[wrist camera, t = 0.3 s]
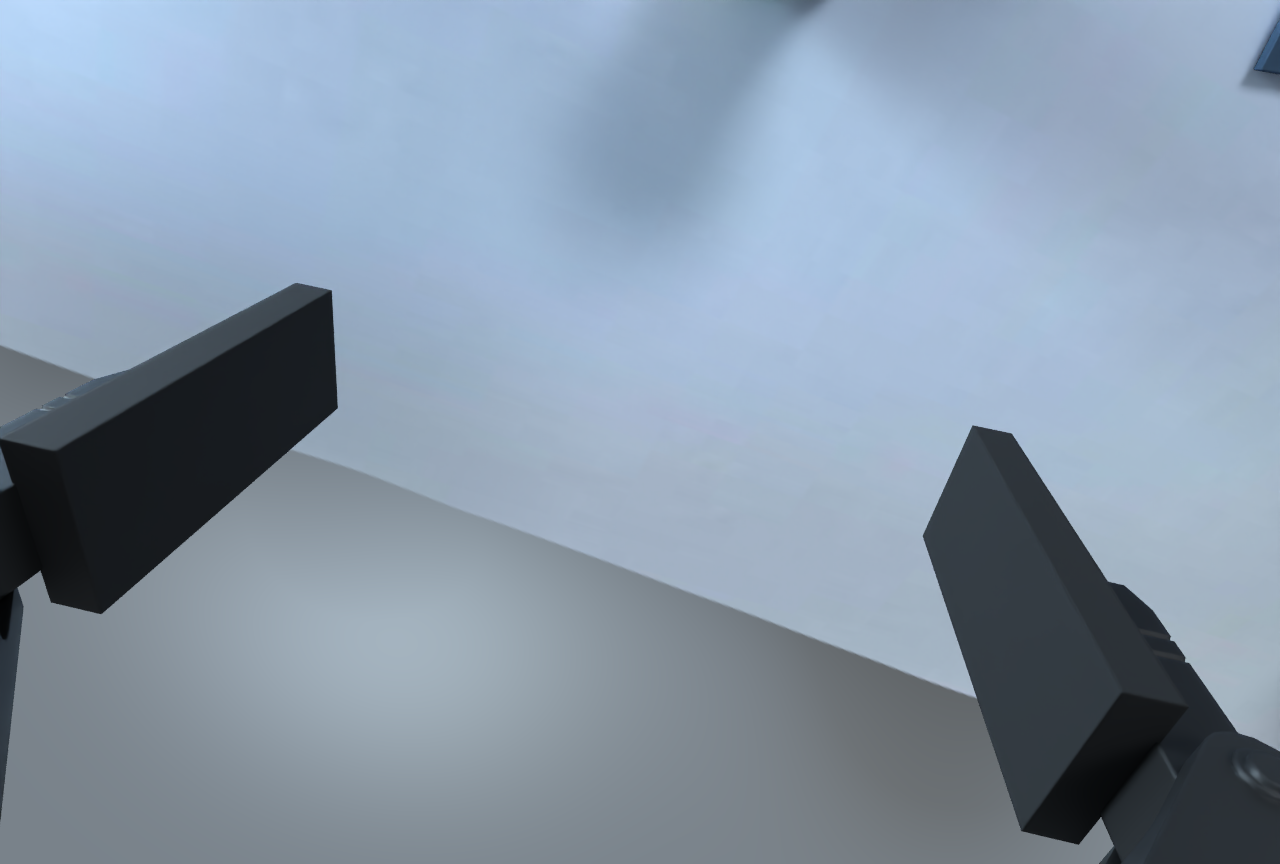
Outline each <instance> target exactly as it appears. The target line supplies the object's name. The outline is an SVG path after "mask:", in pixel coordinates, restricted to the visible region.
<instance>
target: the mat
mask: <svg viewBox="0 0 1280 864" xmlns="http://www.w3.org/2000/svg"><path fill="white" fill-rule="evenodd" d="M1254 70H1258V71H1263V72H1269V73H1275V74H1280V20H1279V22H1278V24H1277V26H1276V27H1275V29H1274V31H1273V33H1272V35H1271V37H1270V39H1269V41H1268V43H1267V45H1266V47H1265V49H1264V50H1263V52H1262V54H1261V56H1260V58H1259V60H1258V62H1257V64H1256V66H1255V68H1254Z"/></svg>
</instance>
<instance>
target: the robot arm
mask: <svg viewBox="0 0 1280 864" xmlns="http://www.w3.org/2000/svg"><path fill="white" fill-rule="evenodd" d="M337 408H338V404H337V384H336V365H335V345H334V326H333V307H332V290H327V289H323V288H318V287H313V286H308V285H304V284H299V283H295V284H293V285H291V286H289V287H287V288H285V289H283V290H281V291H279V292H277V293H275V294H274V295H272V296H270V297H268V298H266V299H264V300H262V301H260V302H258V303H256V304H254V305H252V306H251V307H249V308H247V309H245V310H243V311H241V312H239V313H237V314H235V315H233V316H231V317H229V318H228V319H226V320H224V321H222V322H220V323H218V324H216V325H214V326H212V327H210V328H208V329H206V330H205V331H203V332H201V333H199V334H197V335H195V336H193V337H191V338H189V339H187V340H185V341H183V342H182V343H180V344H178V345H176V346H174V347H172V348H170V349H168V350H166V351H164V352H162V353H160V354H158V355H157V356H155V357H153V358H151V359H149V360H147V361H145V362H143V363H141V364H139V365H137V366H135V367H134V368H132V369H130V370H126V371H123V372H119V373H116V374H112V375H108V376H105V377H101V378H97V379H94V380H92V381H90V382H88V383H86V384H84V385H82V386H80V387H78V388H76V389H74V390H72V391H70V392H68V393H66V394H65V397H64V398H63V397H58V398H56V399H54V400H52V401H50V402H48V403H47V404H44V405H42V409H41V410H40V409H34V410H33V411H31V412H29V413H27V414H25V415H23V416H21V417H19V418H17V419H15V420H13V421H11V422H9V423H7V424H5V425H3V426H1V427H0V819H1V810H2V809H1V808H2V801H3V791H4V782H5V773H6V764H7V755H8V744H9V736H10V727H11V717H12V709H13V699H14V690H15V681H16V672H17V662H18V653H19V644H20V635H21V624H22V616H23V604H22V601H21V597H20V594H19V592H18V588H17V587H19V586H20V585H21V584H23V583H24V582H25V581H27V580H28V579H30V578H31V577H32V576H34V575H35V574H36V573H38V572H39V571H40V570H41V573H42V576H43V579H44V582H45V586H46V589H47V592H48V595H49V598H50V601H51V602H52V603H56V604H61V605H65V606H69V607H73V608H78V609H82V610H86V611H90V612H94V613H99V614H102V613H103V612H104V611H106V610H107V609H108V608H109V607H110V606H111V605H112V604H114V603H115V602H116V601H117V600H118V599H119V598H120V597H122V596H123V595H124V594H125V593H126V592H127V591H128V590H130V589H131V588H132V587H133V586H134V585H135V584H137V583H138V582H139V581H140V580H141V579H142V578H143V577H145V575H147V574H148V573H149V572H150V571H151V570H152V569H154V568H155V567H156V566H157V565H158V564H159V563H161V562H162V561H163V560H164V559H165V558H166V557H168V556H169V555H170V554H171V553H172V552H173V551H174V550H175V549H177V548H178V547H179V546H180V545H181V544H182V543H183V542H185V541H186V540H187V539H188V538H189V537H190V536H192V535H193V534H194V533H195V532H196V531H197V530H199V529H200V528H201V527H202V526H203V525H204V524H205V523H206V522H208V521H209V520H210V519H211V518H212V517H213V516H215V515H216V514H217V513H218V512H219V511H220V510H221V509H222V508H224V507H225V506H226V505H227V504H228V503H229V502H230V501H232V500H233V499H234V498H235V497H236V496H238V495H239V494H240V493H241V492H242V491H243V490H244V489H246V488H247V487H248V486H249V485H250V484H251V483H252V482H254V481H255V480H256V479H257V478H258V477H259V476H260V475H261V474H263V473H264V472H265V471H266V470H267V469H268V468H270V467H271V466H272V465H273V464H274V463H275V462H276V461H278V460H279V459H280V458H281V457H282V456H283V455H285V454H286V453H287V452H288V451H289V450H290V449H291V448H293V447H294V446H295V445H296V444H297V443H298V442H299V441H301V440H302V439H303V438H304V437H305V436H306V435H307V434H309V433H310V432H311V431H312V430H313V429H314V428H316V427H317V426H318V425H319V424H320V423H321V422H322V421H324V420H325V419H326V418H327V417H328V416H329V415H330V414H332V413H333V412H334V411H335V410H336V409H337ZM923 538H924V541H925V544H926V547H927V550H928V553H929V556H930V559H931V562H932V565H933V568H934V571H935V574H936V577H937V580H938V583H939V586H940V589H941V592H942V595H943V598H944V601H945V604H946V607H947V610H948V613H949V616H950V619H951V622H952V625H953V628H954V631H955V634H956V637H957V640H958V643H959V646H960V649H961V652H962V655H963V658H964V661H965V664H966V667H967V670H968V673H969V676H970V679H971V682H972V685H973V688H974V691H975V694H976V697H977V700H978V703H979V706H980V708H981V712H982V714H983V718H984V721H985V724H986V726H987V730H988V732H989V735H990V738H991V741H992V744H993V747H994V750H995V753H996V756H997V759H998V762H999V765H1000V768H1001V771H1002V774H1003V777H1004V780H1005V783H1006V786H1007V789H1008V792H1009V795H1010V798H1011V801H1012V804H1013V807H1014V810H1015V813H1016V816H1017V819H1018V822H1019V825H1020V828H1021V831H1023V832H1028V833H1032V834H1036V835H1040V836H1044V837H1049V838H1053V839H1057V840H1062V841H1066V842H1070V843H1074V844H1078V845H1079V844H1080V842H1081V841H1082V840H1083V839H1084V837H1085V836H1086V835H1087V834H1088V832H1089V831H1090V830H1091V829H1092V827H1093V826H1094V825H1095V824H1096V822H1097V821H1098V820H1099V819H1100V817H1102V820H1103V822H1104V824H1105V826H1106V829H1107V831H1108V833H1109V835H1110V838H1111V840H1112V842H1113V845H1114V847H1113V848H1112V849H1111V850H1110V851H1109V853H1108V854H1107V855H1106V856H1105V857H1104V858H1103V860H1102V861H1101V862H1100V863H1099V864H1280V752H1279V751H1278V750H1276V749H1274V748H1272V747H1270V746H1268V745H1266V744H1264V743H1262V742H1260V741H1258V740H1257V739H1255V738H1252V737H1248V736H1245V735H1242V734H1238V732H1237V731H1236V730H1235V728H1234V727H1233V725H1232V724H1231V722H1230V721H1229V720H1228V718H1227V717H1226V715H1225V714H1224V712H1223V711H1222V709H1221V708H1220V707H1219V705H1218V704H1217V702H1216V701H1215V699H1214V698H1213V697H1212V695H1211V694H1210V692H1209V691H1208V689H1207V688H1206V686H1205V685H1204V684H1203V682H1202V681H1201V679H1200V678H1199V676H1198V675H1197V673H1196V672H1195V671H1194V669H1193V668H1192V666H1191V665H1190V663H1186V662H1185V656H1184V655H1183V653H1182V652H1181V650H1180V649H1179V648H1178V646H1177V645H1176V643H1175V642H1174V641H1170V637H1171V636H1170V635H1169V633H1168V632H1167V630H1166V629H1165V627H1164V626H1163V625H1162V623H1161V622H1160V620H1159V619H1158V617H1157V616H1156V614H1155V613H1154V612H1153V610H1152V609H1150V608H1149V607H1148V606H1147V605H1146V604H1145V603H1144V602H1143V601H1141V600H1140V599H1139V598H1138V597H1137V596H1136V595H1135V594H1133V593H1132V592H1131V591H1130V590H1129V589H1128V588H1127V587H1125V586H1124V585H1120V584H1116V583H1111V582H1108V581H1107V580H1106V578H1105V577H1104V575H1103V573H1102V572H1101V570H1100V569H1099V567H1098V566H1097V564H1096V563H1095V561H1094V560H1093V558H1092V556H1091V555H1090V553H1089V552H1088V550H1087V549H1086V547H1085V546H1084V544H1083V543H1082V541H1081V540H1080V538H1079V536H1078V535H1077V533H1076V532H1075V530H1074V529H1073V527H1072V526H1071V524H1070V523H1069V521H1068V519H1067V518H1066V516H1065V515H1064V513H1063V512H1062V510H1061V509H1060V507H1059V506H1058V504H1057V503H1056V501H1055V499H1054V498H1053V496H1052V495H1051V493H1050V492H1049V490H1048V489H1047V487H1046V486H1045V484H1044V483H1043V481H1042V479H1041V478H1040V476H1039V475H1038V473H1037V472H1036V470H1035V469H1034V467H1033V466H1032V464H1031V462H1030V461H1029V459H1028V458H1027V456H1026V455H1025V453H1024V452H1023V450H1022V449H1021V447H1020V446H1019V444H1018V442H1017V441H1016V439H1015V438H1014V436H1013V435H1012V434H1011V433H1006V432H1002V431H997V430H992V429H987V428H983V427H978V426H972V428H971V430H970V433H969V435H968V437H967V439H966V441H965V444H964V446H963V448H962V450H961V452H960V455H959V457H958V459H957V461H956V464H955V466H954V468H953V470H952V472H951V475H950V477H949V479H948V481H947V483H946V486H945V488H944V490H943V492H942V494H941V497H940V499H939V501H938V503H937V506H936V508H935V510H934V512H933V514H932V517H931V519H930V521H929V523H928V525H927V528H926V530H925V532H924V534H923Z"/></svg>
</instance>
